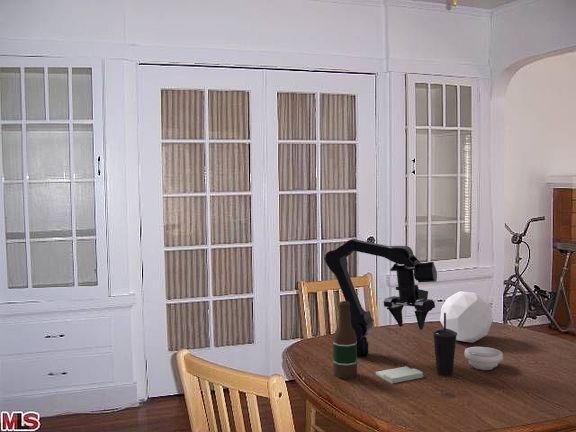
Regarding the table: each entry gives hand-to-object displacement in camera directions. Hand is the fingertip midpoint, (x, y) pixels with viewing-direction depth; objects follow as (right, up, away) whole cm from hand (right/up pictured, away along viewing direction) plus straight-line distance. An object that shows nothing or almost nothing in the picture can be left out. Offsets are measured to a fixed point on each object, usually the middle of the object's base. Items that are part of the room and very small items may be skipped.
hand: (411, 328), depth 193 cm
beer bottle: (-24, -13, -11) cm, 29 cm away
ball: (+27, -10, +25) cm, 38 cm away
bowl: (+23, -12, -5) cm, 26 cm away
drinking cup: (+8, -13, -11) cm, 19 cm away
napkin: (-7, -13, -12) cm, 19 cm away
